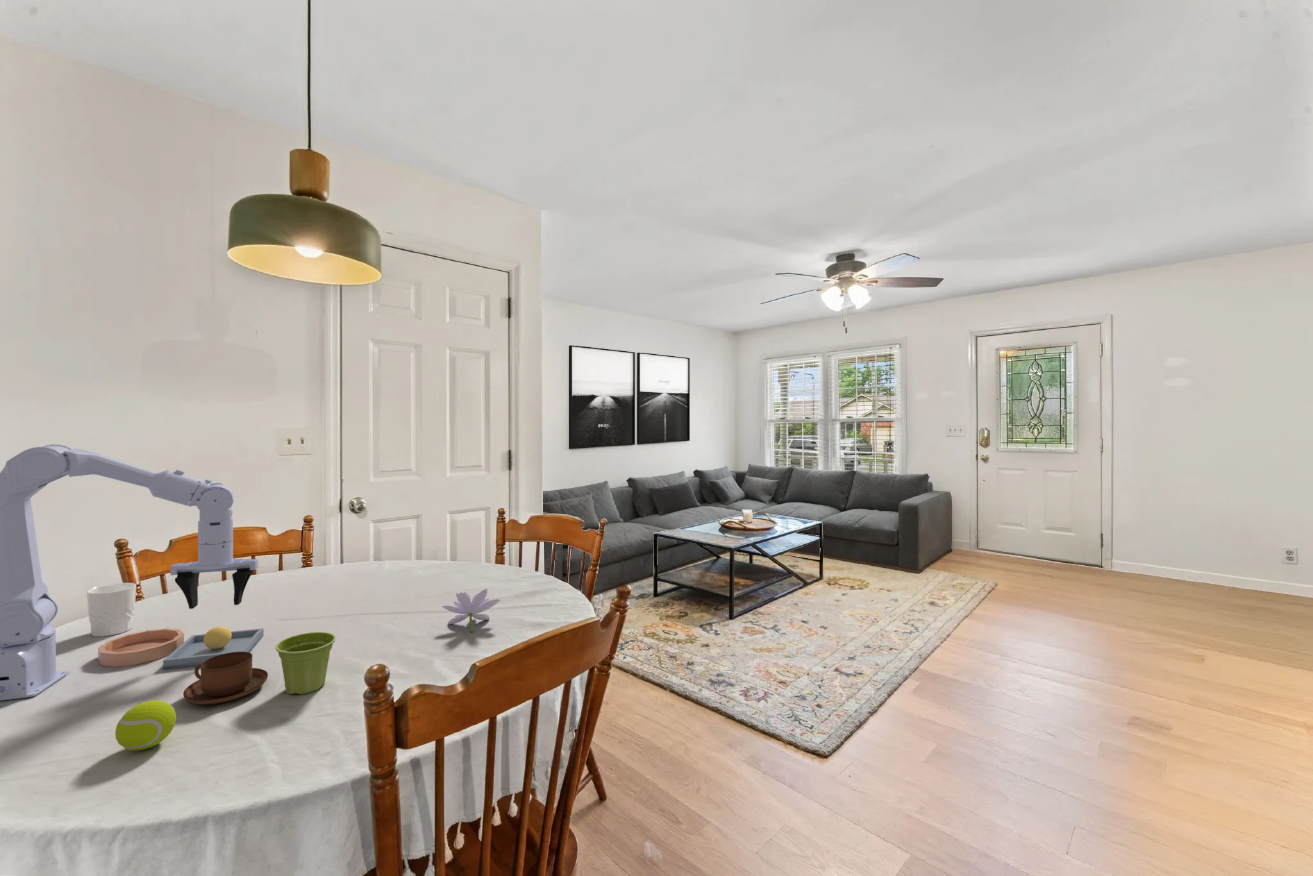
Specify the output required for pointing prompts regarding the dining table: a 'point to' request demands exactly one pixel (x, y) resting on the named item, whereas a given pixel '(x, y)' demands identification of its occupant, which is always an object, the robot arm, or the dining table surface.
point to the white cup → (111, 608)
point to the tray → (197, 652)
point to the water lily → (471, 607)
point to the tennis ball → (145, 725)
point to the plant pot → (305, 660)
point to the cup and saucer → (225, 679)
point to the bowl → (140, 647)
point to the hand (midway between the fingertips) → (215, 605)
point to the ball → (217, 637)
